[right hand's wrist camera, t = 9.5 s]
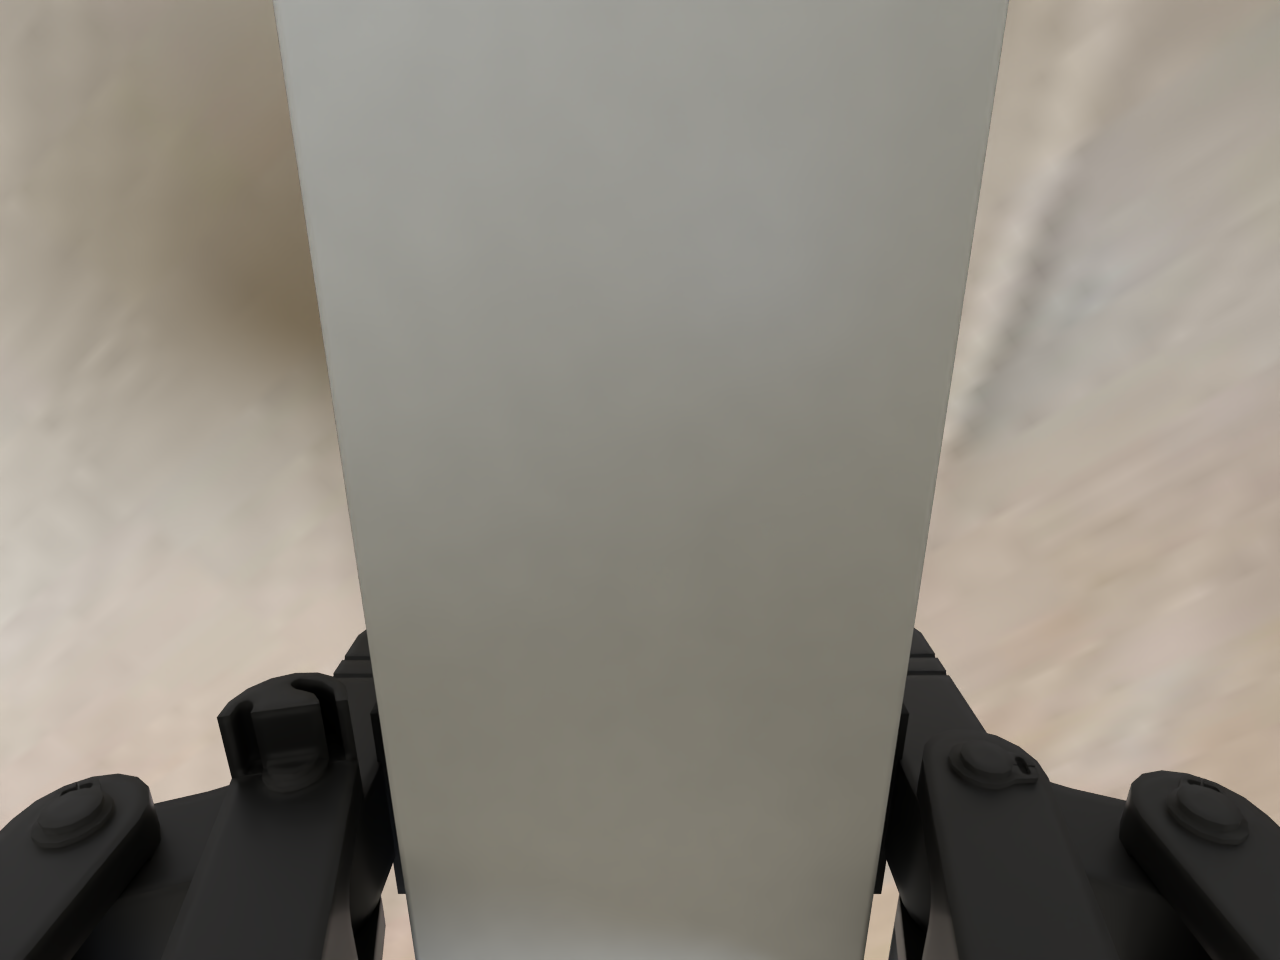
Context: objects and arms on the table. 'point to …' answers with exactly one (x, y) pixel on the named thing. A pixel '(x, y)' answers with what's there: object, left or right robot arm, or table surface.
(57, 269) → the table surface
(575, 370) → the bar
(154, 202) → the table surface
